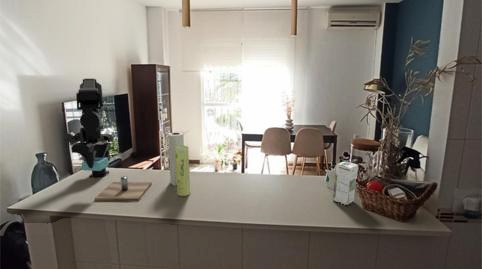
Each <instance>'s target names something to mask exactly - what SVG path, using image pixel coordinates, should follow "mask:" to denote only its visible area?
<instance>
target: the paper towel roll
mask: <svg viewBox="0 0 482 269" xmlns="http://www.w3.org/2000/svg"><path fill="white" fill-rule="evenodd" d="M184 142H185V141H184V133H183V132H176V131H175V132H170V133H168V153H169V154H168V155H169V156H168V157H169V158H168V159H169V173H170V174H169V176H170V178H169V180H170V181H169V182H170V184H171V185H172V186H174V187H176V186H177V176H176V155H175V144H179V145H183V146H185V145H184V144H185V143H184Z"/></svg>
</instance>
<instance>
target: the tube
mask: <svg viewBox="0 0 482 269" xmlns="http://www.w3.org/2000/svg"><path fill="white" fill-rule="evenodd" d="M175 155H176V176H177V185H176V192H177V195H178V196H180V197H186V196H189V195H190V194H191V181H190V180H191V179H190V162H189V161H190V159H189V158H190V157H189V146H188V145H187V146H186V145H184V146H183V145H179V144H175Z"/></svg>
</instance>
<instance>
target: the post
mask: <svg viewBox="0 0 482 269" xmlns="http://www.w3.org/2000/svg"><path fill="white" fill-rule="evenodd" d="M120 182H121V188H122V191H127V190H128V182H129V181H128V176H122V177H120Z"/></svg>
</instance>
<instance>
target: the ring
mask: <svg viewBox="0 0 482 269" xmlns="http://www.w3.org/2000/svg"><path fill="white" fill-rule="evenodd" d="M108 166H109V161H108V158H107V157H106V158H95V159H94V164H93V168H89V167H88V165H87V163H86V161H85V160H83V161H82V162H81V170H82V171H86V172H87V171H89V172H90V171H91V172H92V171H101V170H102V169H104V168H105V167H106V168H107V167H108Z"/></svg>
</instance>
